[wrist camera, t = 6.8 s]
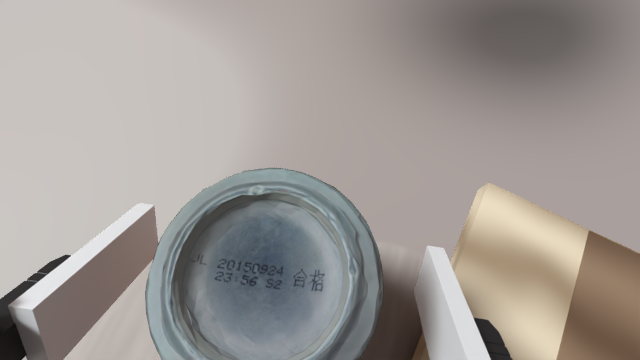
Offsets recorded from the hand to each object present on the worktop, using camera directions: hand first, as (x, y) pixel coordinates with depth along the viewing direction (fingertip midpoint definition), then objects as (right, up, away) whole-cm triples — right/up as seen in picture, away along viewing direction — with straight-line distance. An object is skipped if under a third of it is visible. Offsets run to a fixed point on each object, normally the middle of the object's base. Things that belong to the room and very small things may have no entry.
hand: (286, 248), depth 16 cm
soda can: (0, -4, +5) cm, 6 cm away
